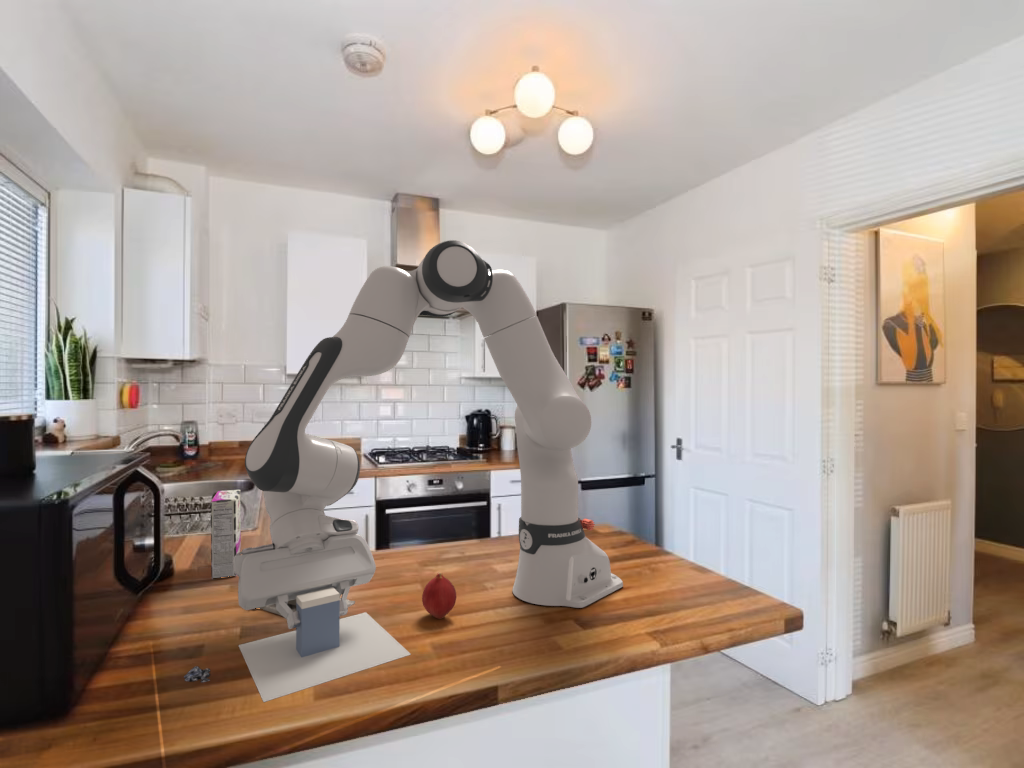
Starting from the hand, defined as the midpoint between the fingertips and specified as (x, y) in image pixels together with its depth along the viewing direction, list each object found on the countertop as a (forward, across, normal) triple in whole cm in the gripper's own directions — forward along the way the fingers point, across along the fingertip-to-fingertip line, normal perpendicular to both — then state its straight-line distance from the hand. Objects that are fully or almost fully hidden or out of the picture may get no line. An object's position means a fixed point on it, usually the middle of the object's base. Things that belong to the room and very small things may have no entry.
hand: (319, 620), depth 79 cm
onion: (+4, +20, +3) cm, 21 cm away
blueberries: (+2, -15, +6) cm, 16 cm away
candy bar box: (-30, -6, +38) cm, 49 cm away
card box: (+3, 0, +4) cm, 4 cm away
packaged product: (-10, +2, +18) cm, 20 cm away
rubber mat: (+4, 0, +3) cm, 5 cm away
